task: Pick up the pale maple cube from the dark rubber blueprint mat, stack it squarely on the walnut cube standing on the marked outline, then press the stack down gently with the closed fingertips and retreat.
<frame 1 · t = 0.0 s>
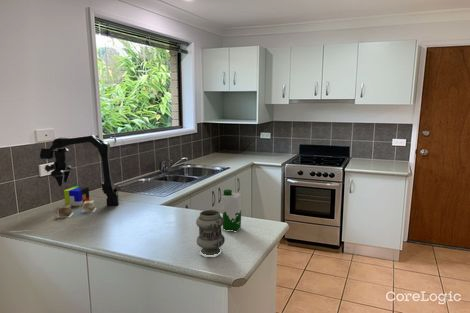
hand: (62, 184, 202), 15 cm above the counter, fingers open, 9 cm apart
milk carton: (231, 229, 170), on the counter
puzzle toy: (77, 204, 213), on the counter
walnut cube: (65, 215, 190), point 1 cm above the counter, touching blueprint mat
blueprint mat: (76, 213, 194), on the counter
maple cube: (89, 210, 199), point 1 cm above the counter, touching blueprint mat
apothecary jar: (210, 253, 144), on the counter
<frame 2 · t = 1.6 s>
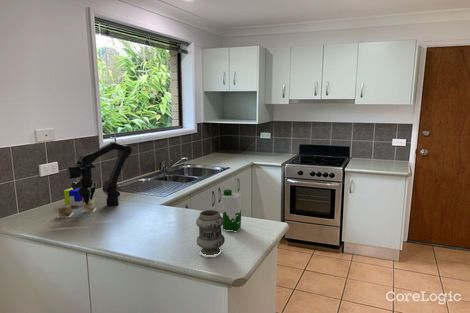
hand: (88, 201, 198), 6 cm above the counter, fingers open, 9 cm apart
nothing on the counter moved.
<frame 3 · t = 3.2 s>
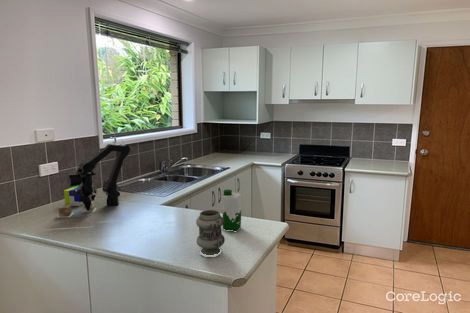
hand: (89, 209, 199), 1 cm above the counter, fingers closed on maple cube, 5 cm apart
maple cube: (89, 210, 199), point 1 cm above the counter, touching blueprint mat, gripper
everything else where it was.
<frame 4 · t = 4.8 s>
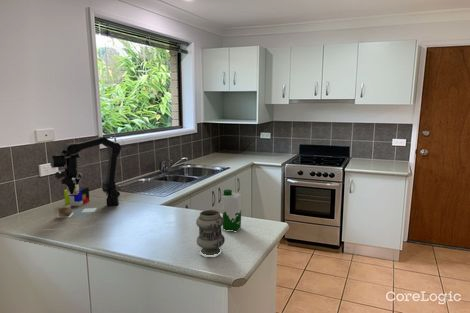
hand: (73, 192, 191), 13 cm above the counter, fingers closed on maple cube, 5 cm apart
maple cube: (73, 193, 191), point 12 cm above the counter, touching gripper
everything else where it was.
when the fingers open (7 cm above the counter, at t = 6.7 s): maple cube drops 1 cm, resting on walnut cube.
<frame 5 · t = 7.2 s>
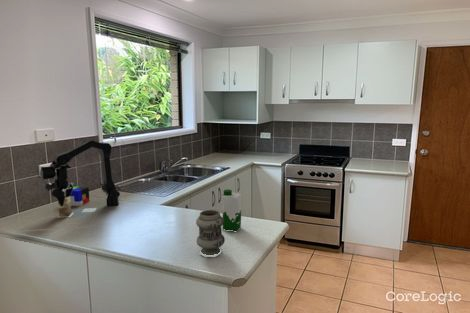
hand: (64, 203, 189), 7 cm above the counter, fingers open, 9 cm apart
walnut cube: (65, 215, 190), point 1 cm above the counter, touching blueprint mat, maple cube
maple cube: (64, 206, 189), point 6 cm above the counter, touching walnut cube
everything else where it was.
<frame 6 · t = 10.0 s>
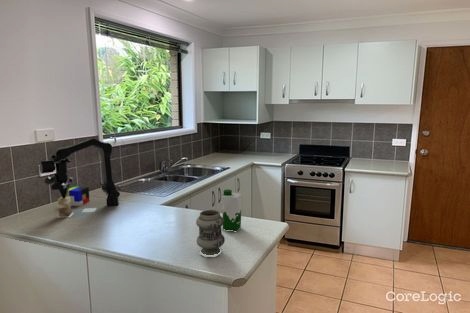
hand: (64, 198, 188), 11 cm above the counter, fingers closed, pressing on maple cube
maple cube: (64, 206, 189), point 6 cm above the counter, touching gripper, walnut cube
everything else where it was.
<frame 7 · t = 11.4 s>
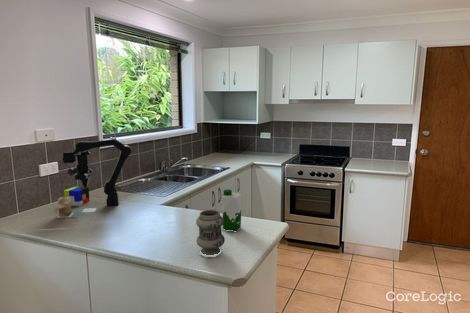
hand: (85, 187, 202), 13 cm above the counter, fingers closed
maple cube: (64, 206, 189), point 6 cm above the counter, touching walnut cube
everything else where it was.
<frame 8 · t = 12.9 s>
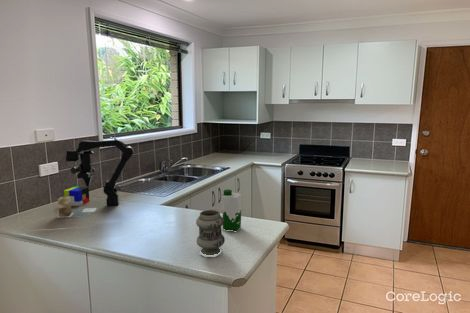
hand: (87, 186, 204), 13 cm above the counter, fingers closed
nothing on the counter moved.
at the end: maple cube 0.0 cm off-centre on the walnut cube, point 5.0 cm above the walnut cube's base; maple cube tilted 0°; the gripper is holding nothing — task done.
